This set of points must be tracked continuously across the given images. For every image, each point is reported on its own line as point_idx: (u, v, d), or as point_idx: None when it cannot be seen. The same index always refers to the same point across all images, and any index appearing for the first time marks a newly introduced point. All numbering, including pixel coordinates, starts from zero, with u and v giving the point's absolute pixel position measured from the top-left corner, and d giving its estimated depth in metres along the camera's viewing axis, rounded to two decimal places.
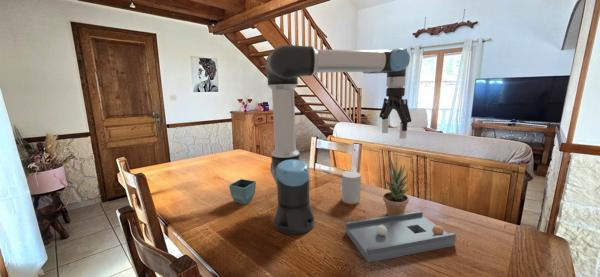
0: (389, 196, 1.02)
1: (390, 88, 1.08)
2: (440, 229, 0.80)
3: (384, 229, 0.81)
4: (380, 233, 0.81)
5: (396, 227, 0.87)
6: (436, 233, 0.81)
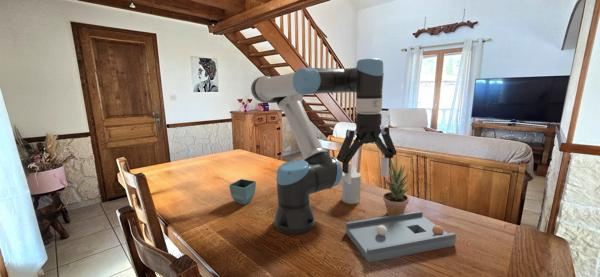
0: (389, 196, 1.02)
1: None
2: (440, 229, 0.80)
3: (384, 229, 0.81)
4: (380, 233, 0.81)
5: (396, 227, 0.87)
6: (436, 233, 0.81)
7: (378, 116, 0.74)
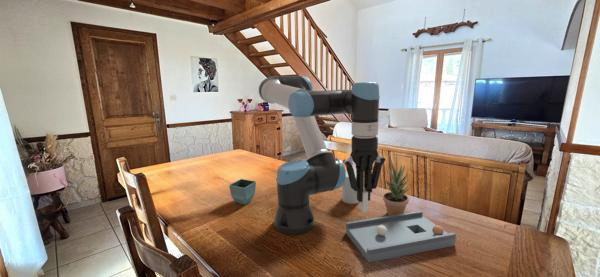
0: (389, 196, 1.02)
1: None
2: (440, 229, 0.80)
3: (384, 229, 0.81)
4: (380, 233, 0.81)
5: (396, 227, 0.87)
6: (436, 233, 0.81)
7: (373, 140, 0.72)
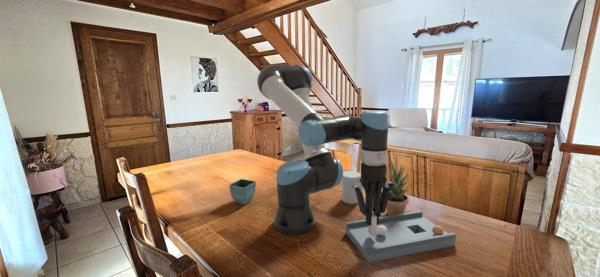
0: (389, 196, 1.02)
1: None
2: (440, 229, 0.80)
3: (384, 229, 0.81)
4: (380, 233, 0.81)
5: (396, 227, 0.87)
6: (436, 233, 0.81)
7: (382, 168, 0.74)
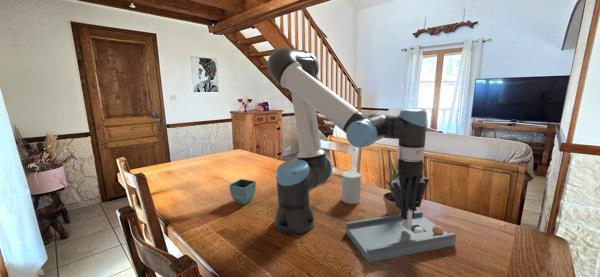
0: (389, 196, 1.02)
1: None
2: (440, 229, 0.80)
3: None
4: None
5: (396, 227, 0.87)
6: (436, 233, 0.81)
7: (420, 164, 0.77)
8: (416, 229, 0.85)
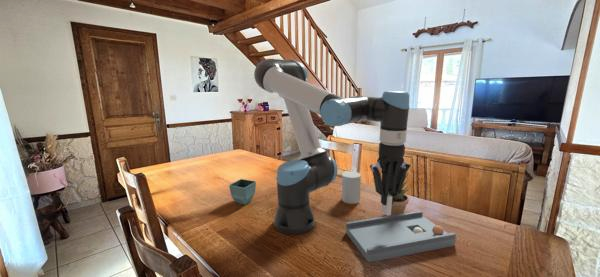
0: None
1: None
2: (440, 229, 0.80)
3: None
4: None
5: (396, 227, 0.87)
6: (436, 233, 0.81)
7: (401, 148, 0.74)
8: (415, 230, 0.85)
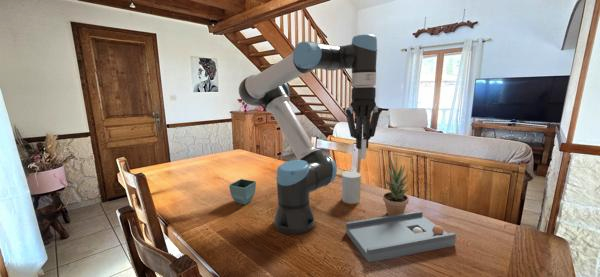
0: (389, 196, 1.02)
1: None
2: (440, 229, 0.80)
3: None
4: None
5: (396, 227, 0.87)
6: (436, 233, 0.81)
7: (371, 89, 0.78)
8: (414, 230, 0.85)
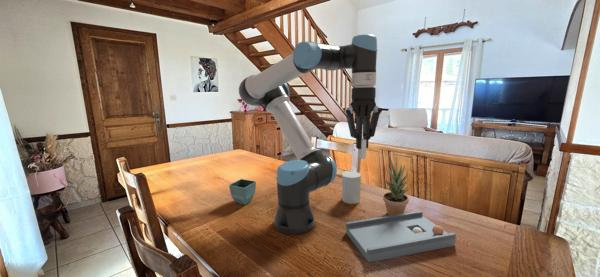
0: (389, 196, 1.02)
1: None
2: (440, 229, 0.80)
3: None
4: None
5: (396, 227, 0.87)
6: (436, 233, 0.81)
7: (371, 89, 0.78)
8: (414, 230, 0.85)
